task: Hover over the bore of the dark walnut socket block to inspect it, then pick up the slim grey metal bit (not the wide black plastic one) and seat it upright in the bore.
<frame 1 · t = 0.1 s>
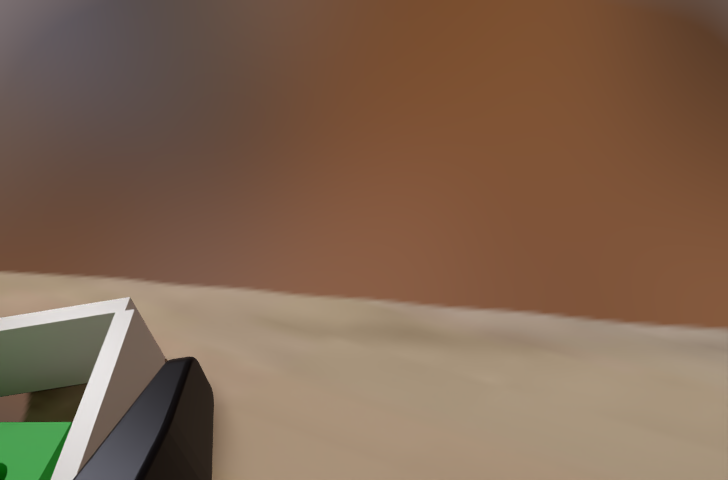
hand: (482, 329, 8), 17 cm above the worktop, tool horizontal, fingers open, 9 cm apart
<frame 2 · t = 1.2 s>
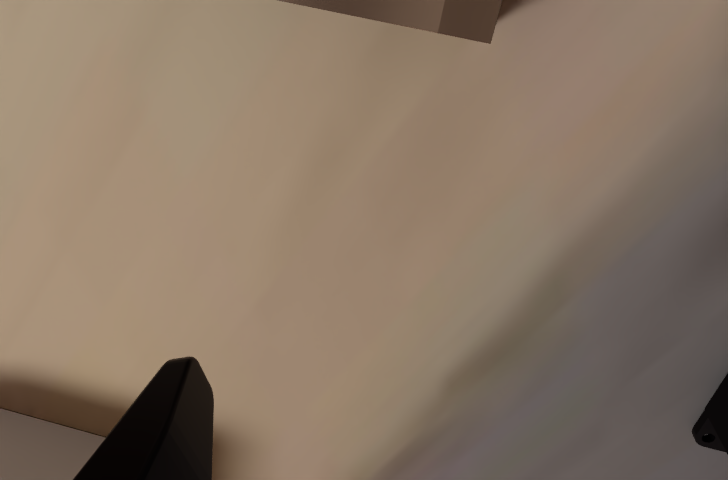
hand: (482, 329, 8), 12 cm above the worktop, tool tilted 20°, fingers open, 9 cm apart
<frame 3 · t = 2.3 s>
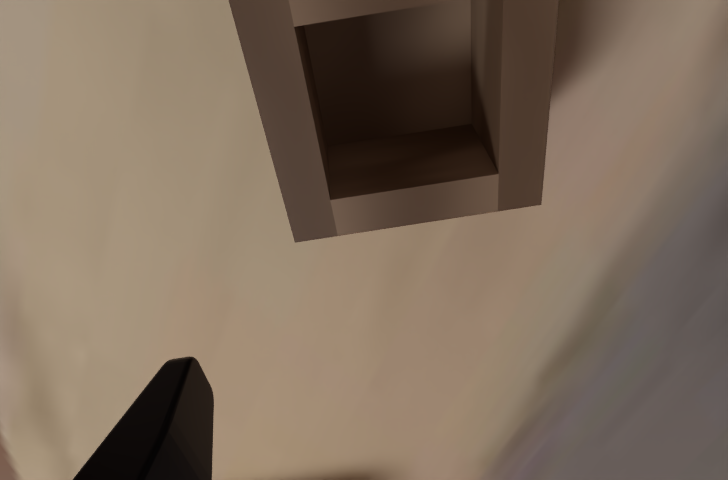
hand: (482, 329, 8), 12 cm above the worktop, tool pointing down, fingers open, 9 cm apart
socket block: (390, 58, 18), on the worktop
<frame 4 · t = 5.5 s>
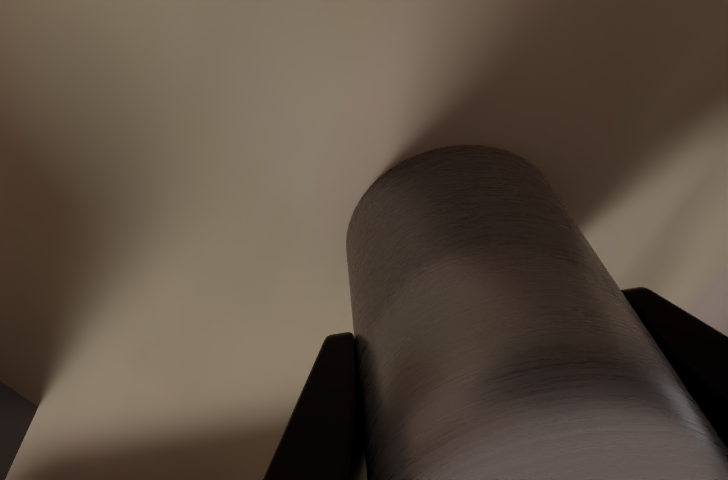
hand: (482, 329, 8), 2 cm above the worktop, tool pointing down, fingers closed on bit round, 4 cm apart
bit round: (451, 240, 10), on the worktop, touching gripper
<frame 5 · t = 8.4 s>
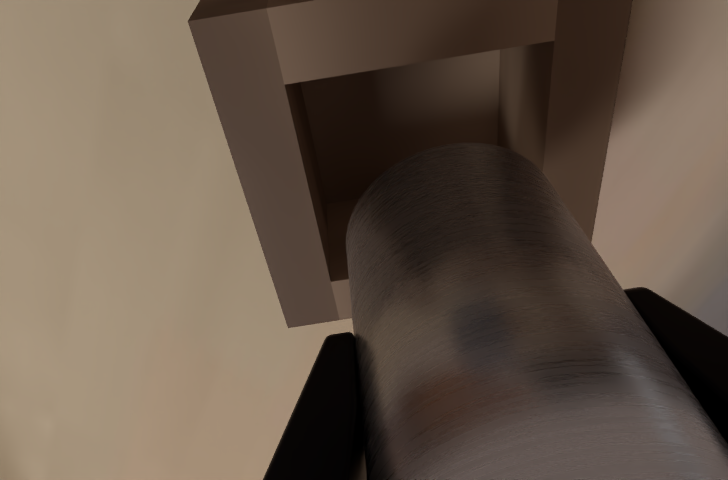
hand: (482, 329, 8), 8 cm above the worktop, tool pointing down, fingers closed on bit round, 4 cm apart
socket block: (401, 103, 15), on the worktop
bit round: (452, 238, 10), point 6 cm above the worktop, touching gripper
when the fingers open (4 cm above the worktop, at t = 9.7 s): bit round drops 1 cm, resting on socket block.
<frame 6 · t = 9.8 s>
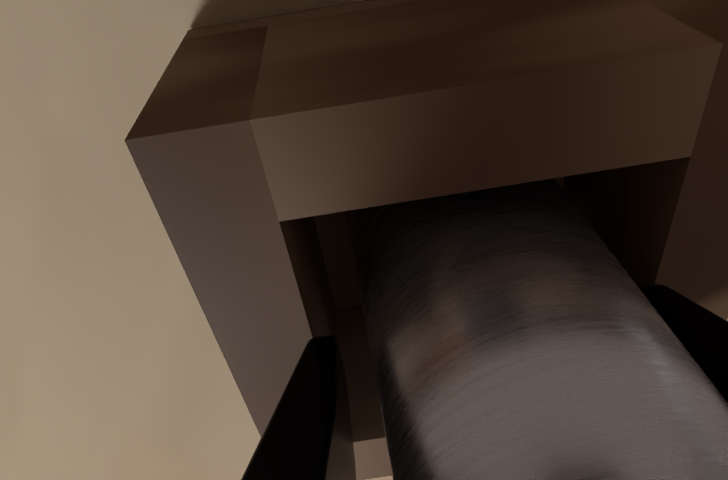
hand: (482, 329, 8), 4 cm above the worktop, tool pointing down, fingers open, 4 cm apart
socket block: (434, 190, 11), on the worktop
bit round: (442, 203, 11), point 1 cm above the worktop, touching gripper, socket block
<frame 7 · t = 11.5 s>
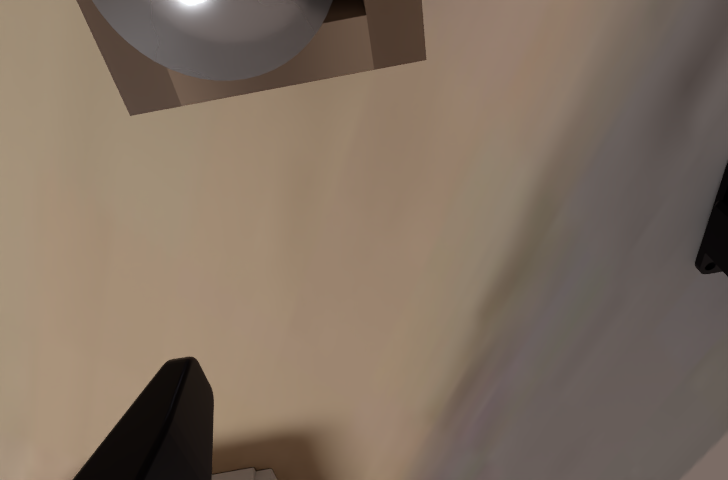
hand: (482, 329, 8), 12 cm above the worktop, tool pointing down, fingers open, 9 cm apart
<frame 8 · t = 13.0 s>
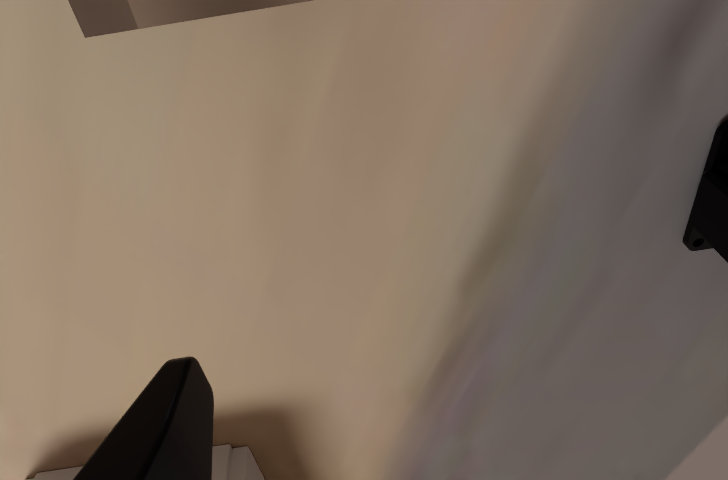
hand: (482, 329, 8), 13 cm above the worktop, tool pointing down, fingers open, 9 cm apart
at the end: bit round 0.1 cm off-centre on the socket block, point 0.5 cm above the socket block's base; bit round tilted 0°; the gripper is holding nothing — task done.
